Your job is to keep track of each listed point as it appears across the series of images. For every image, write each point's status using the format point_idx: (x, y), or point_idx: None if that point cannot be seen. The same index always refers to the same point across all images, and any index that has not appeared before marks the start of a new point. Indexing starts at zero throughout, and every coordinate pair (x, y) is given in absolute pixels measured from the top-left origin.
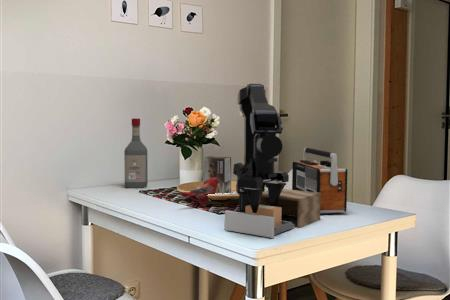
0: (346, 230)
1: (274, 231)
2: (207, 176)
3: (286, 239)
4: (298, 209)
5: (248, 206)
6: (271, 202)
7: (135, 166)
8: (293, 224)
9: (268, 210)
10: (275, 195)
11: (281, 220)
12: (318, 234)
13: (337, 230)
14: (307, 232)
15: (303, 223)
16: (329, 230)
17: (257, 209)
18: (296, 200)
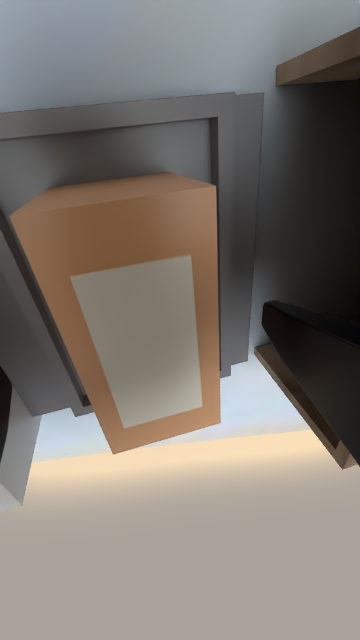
0: (298, 430)
1: (64, 408)
2: None
3: (74, 433)
4: (301, 411)
5: (32, 258)
6: (286, 337)
7: None
8: (238, 362)
9: (103, 423)
10: (332, 409)
11: (229, 332)
12: (211, 430)
13: (287, 422)
14: None
15: None
16: (276, 414)
17: (3, 417)
18: (339, 445)
